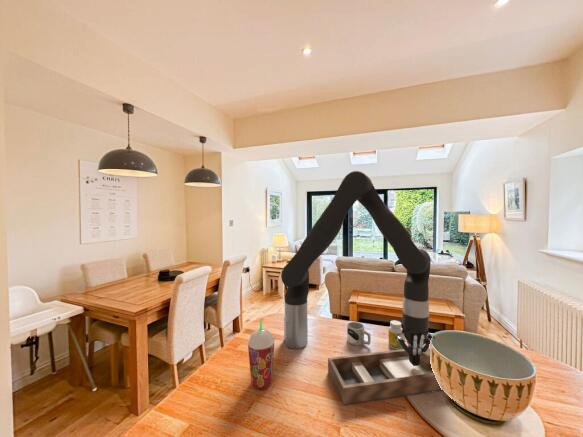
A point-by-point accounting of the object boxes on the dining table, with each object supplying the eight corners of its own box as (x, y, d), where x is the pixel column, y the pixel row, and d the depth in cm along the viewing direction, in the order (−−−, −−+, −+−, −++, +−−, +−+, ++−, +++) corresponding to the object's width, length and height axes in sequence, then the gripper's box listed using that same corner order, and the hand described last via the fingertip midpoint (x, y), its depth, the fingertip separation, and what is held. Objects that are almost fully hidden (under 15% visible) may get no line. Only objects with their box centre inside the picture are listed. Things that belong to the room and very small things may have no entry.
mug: (344, 341, 102) (344, 325, 101) (353, 335, 106) (353, 320, 106) (365, 351, 94) (365, 334, 94) (374, 344, 99) (374, 328, 99)
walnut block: (426, 371, 78) (426, 355, 78) (416, 361, 83) (416, 347, 83) (440, 369, 79) (440, 354, 79) (429, 360, 84) (429, 345, 84)
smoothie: (279, 377, 81) (278, 317, 80) (268, 395, 73) (267, 329, 72) (256, 372, 83) (255, 313, 82) (243, 389, 75) (242, 325, 75)
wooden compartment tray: (343, 405, 69) (343, 388, 69) (328, 372, 83) (327, 357, 82) (456, 388, 75) (457, 372, 74) (424, 360, 88) (424, 346, 88)
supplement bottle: (393, 341, 101) (393, 318, 101) (406, 347, 97) (406, 323, 96) (385, 345, 98) (385, 321, 98) (397, 351, 94) (398, 327, 93)
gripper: (425, 305, 84) (424, 355, 84) (389, 308, 82) (389, 359, 82) (442, 315, 76) (441, 369, 77) (403, 318, 74) (402, 374, 75)
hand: (414, 364), depth 80 cm, fingers closed
